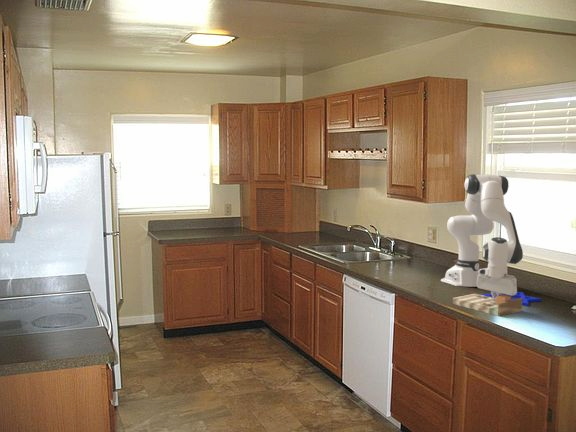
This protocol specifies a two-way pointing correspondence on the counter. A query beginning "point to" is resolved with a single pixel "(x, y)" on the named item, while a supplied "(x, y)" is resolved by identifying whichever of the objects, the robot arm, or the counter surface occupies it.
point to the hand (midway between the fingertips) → (495, 301)
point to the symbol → (519, 295)
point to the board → (488, 304)
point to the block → (502, 299)
